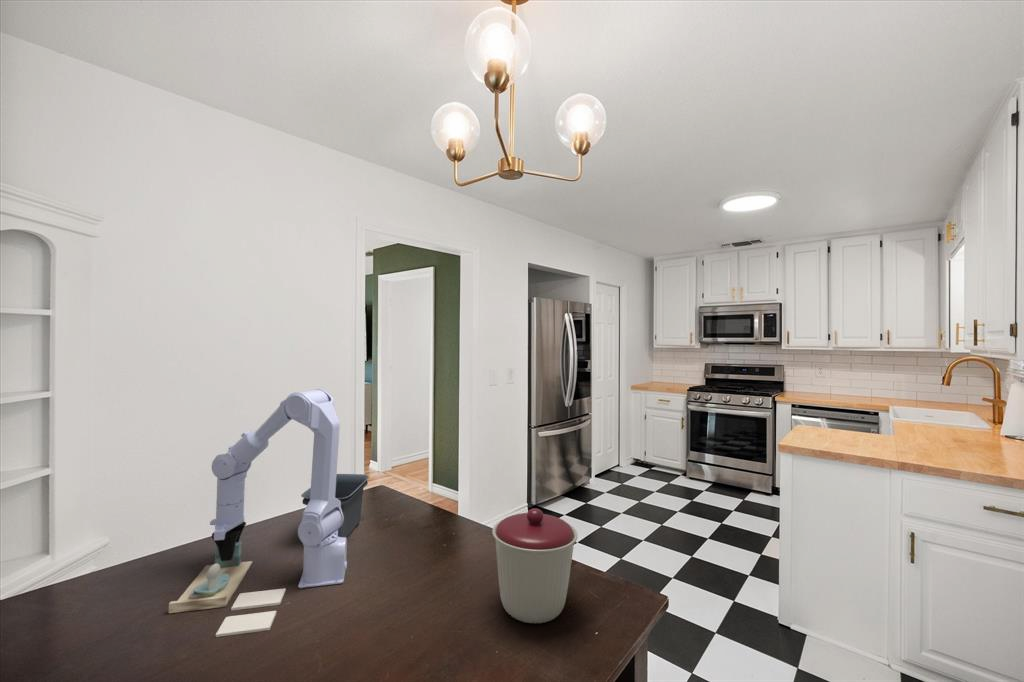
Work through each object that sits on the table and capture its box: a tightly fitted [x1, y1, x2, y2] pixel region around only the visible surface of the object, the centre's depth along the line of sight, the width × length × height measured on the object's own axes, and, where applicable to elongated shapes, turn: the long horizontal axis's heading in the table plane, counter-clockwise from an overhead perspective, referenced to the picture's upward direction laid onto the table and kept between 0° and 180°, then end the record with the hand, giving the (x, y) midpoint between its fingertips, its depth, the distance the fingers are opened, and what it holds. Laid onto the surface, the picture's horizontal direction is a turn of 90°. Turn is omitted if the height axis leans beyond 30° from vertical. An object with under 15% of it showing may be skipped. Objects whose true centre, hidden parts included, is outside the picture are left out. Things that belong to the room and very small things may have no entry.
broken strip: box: [215, 588, 286, 638], centre depth 90 cm, size 9×14×1 cm, turn 16°
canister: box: [491, 508, 578, 624], centre depth 94 cm, size 18×18×21 cm
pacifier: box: [189, 563, 230, 598], centre depth 95 cm, size 7×6×6 cm
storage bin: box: [301, 473, 370, 539], centre depth 128 cm, size 21×16×14 cm
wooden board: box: [168, 541, 253, 614], centre depth 99 cm, size 10×19×5 cm, turn 16°
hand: (228, 557), depth 107 cm, fingers closed on wooden board, 2 cm apart
